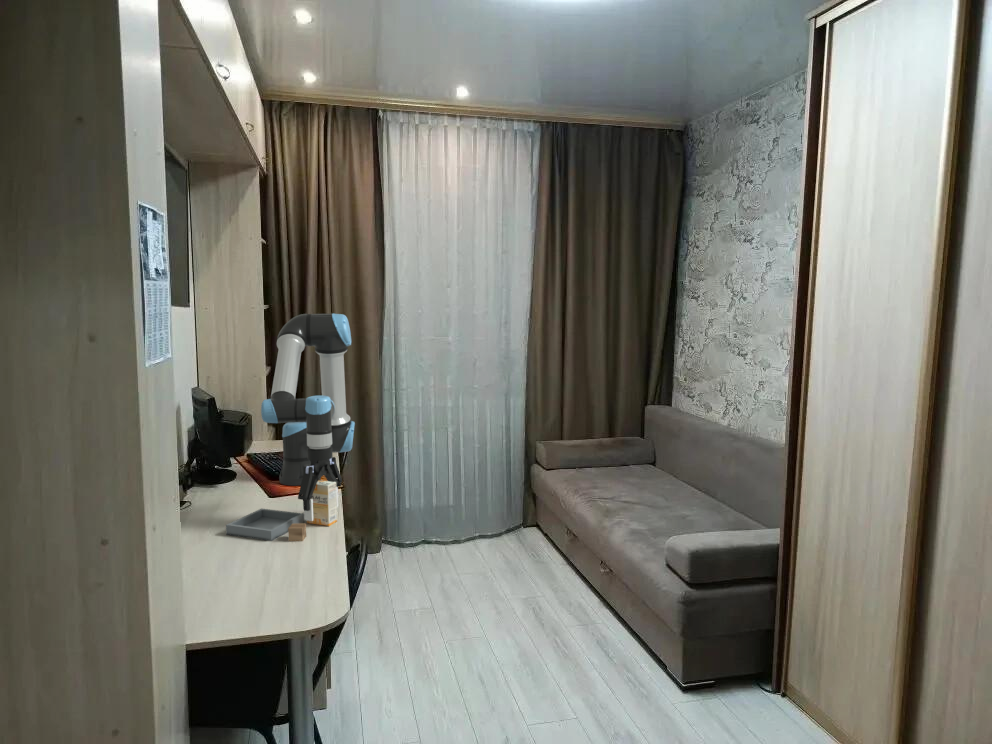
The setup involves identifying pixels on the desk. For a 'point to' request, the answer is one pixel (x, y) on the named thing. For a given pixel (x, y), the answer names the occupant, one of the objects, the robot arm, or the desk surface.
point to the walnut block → (297, 532)
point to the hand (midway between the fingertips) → (321, 513)
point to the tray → (264, 524)
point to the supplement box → (324, 503)
